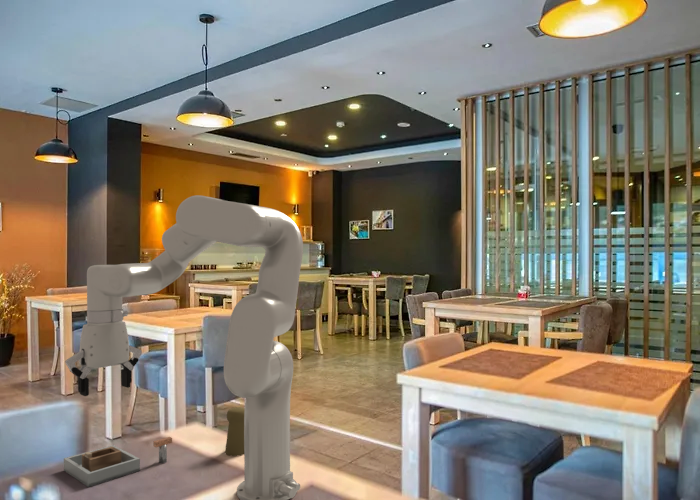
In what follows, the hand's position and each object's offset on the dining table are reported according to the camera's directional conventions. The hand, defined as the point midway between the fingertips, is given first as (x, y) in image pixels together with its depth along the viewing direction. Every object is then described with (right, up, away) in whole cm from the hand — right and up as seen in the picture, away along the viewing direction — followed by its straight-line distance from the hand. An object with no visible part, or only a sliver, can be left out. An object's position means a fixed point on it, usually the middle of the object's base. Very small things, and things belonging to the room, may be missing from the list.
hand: (105, 390), depth 124 cm
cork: (+28, -19, +11) cm, 36 cm away
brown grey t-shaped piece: (+12, -18, +5) cm, 22 cm away
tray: (-1, -18, -1) cm, 18 cm away
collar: (-1, -18, -1) cm, 18 cm away
